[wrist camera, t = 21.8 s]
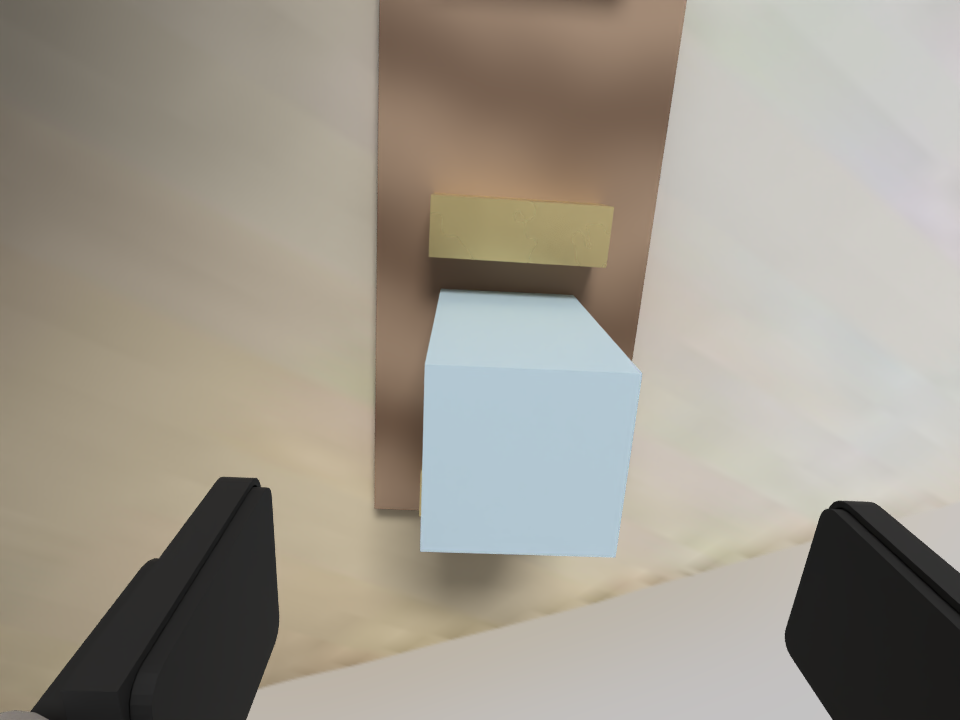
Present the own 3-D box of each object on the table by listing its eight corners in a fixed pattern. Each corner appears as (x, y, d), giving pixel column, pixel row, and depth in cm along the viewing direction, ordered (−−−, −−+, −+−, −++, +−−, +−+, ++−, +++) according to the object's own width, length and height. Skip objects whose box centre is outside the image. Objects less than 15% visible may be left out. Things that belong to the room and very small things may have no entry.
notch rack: (391, -652, 15) (373, -844, 12) (766, -604, 16) (834, -779, 13) (377, 496, 25) (366, 536, 23) (602, 505, 26) (619, 547, 23)
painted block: (440, 288, 22) (424, 364, 13) (573, 294, 22) (642, 373, 13) (436, 412, 23) (420, 551, 15) (560, 416, 23) (615, 557, 15)
